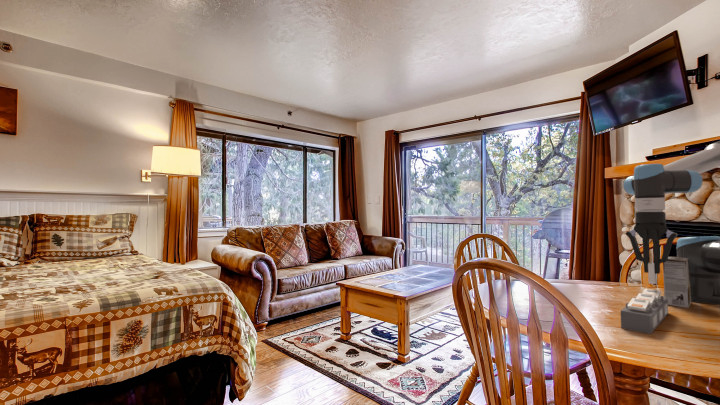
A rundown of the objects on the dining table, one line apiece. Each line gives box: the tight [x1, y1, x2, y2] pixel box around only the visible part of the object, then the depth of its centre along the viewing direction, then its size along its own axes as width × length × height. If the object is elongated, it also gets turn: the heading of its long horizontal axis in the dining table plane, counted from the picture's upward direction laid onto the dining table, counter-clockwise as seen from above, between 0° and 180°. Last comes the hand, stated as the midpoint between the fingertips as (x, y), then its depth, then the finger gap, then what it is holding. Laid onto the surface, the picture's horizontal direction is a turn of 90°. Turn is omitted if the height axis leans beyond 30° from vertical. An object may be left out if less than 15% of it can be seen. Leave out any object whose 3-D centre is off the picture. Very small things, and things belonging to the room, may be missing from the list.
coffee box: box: [662, 255, 692, 309], centre depth 118 cm, size 9×6×16 cm
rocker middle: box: [635, 292, 656, 306], centre depth 101 cm, size 6×4×1 cm, turn 130°
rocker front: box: [627, 297, 650, 311], centre depth 96 cm, size 6×4×1 cm, turn 130°
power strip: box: [620, 295, 669, 335], centre depth 101 cm, size 27×7×6 cm, turn 130°
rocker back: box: [642, 288, 662, 300], centre depth 107 cm, size 6×4×1 cm, turn 130°
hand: (652, 283), depth 109 cm, fingers closed
